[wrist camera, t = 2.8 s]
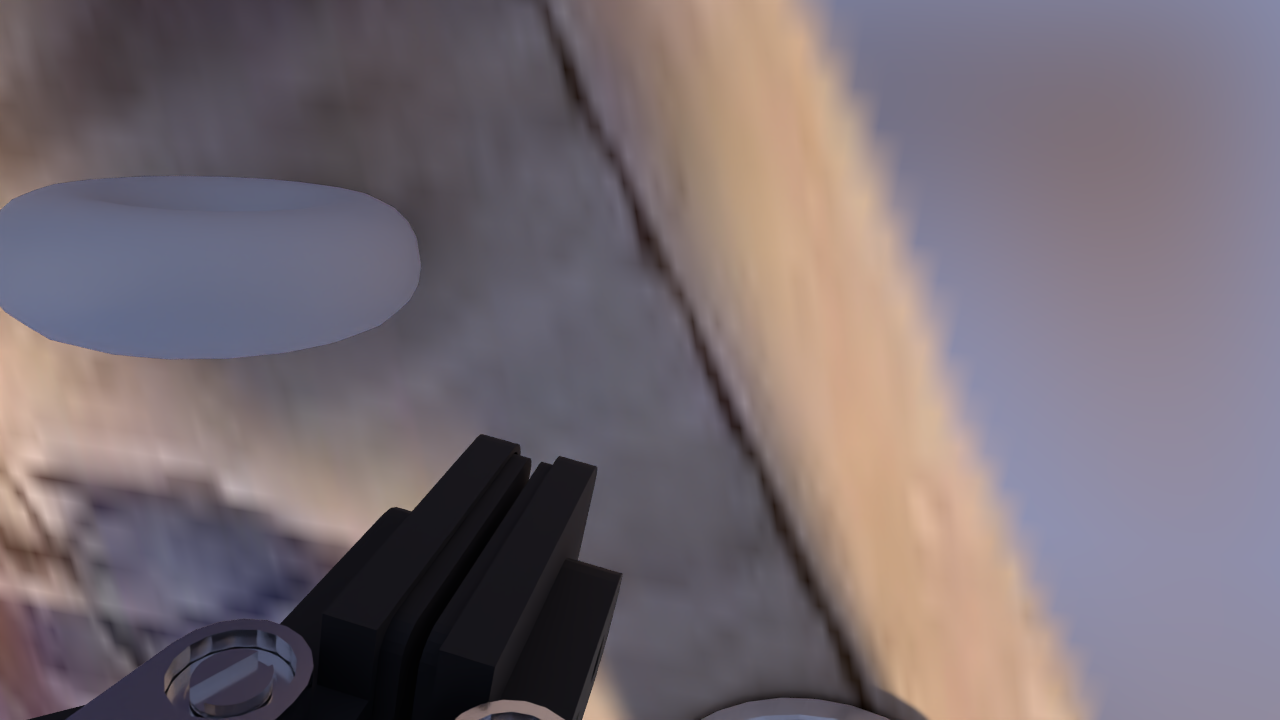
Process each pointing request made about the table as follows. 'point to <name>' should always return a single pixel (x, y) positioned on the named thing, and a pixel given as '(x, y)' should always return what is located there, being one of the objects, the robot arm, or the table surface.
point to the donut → (203, 265)
